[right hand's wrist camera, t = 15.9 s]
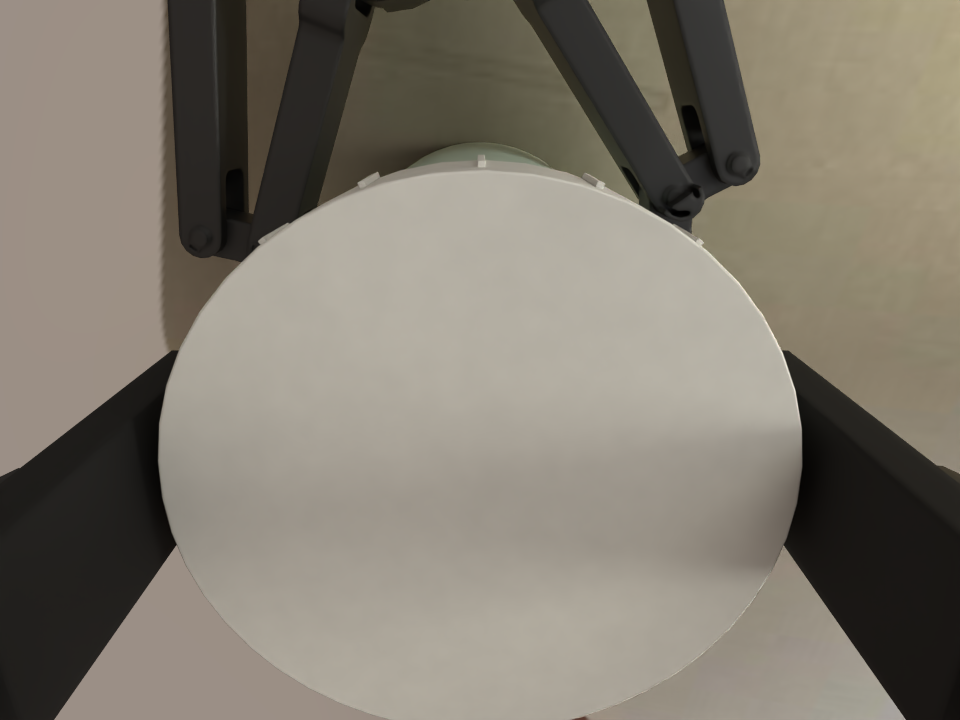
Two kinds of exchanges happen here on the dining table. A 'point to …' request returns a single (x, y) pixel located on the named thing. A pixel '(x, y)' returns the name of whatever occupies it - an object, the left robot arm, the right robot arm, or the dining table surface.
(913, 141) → the dining table surface
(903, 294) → the dining table surface
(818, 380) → the right robot arm
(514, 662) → the lid
